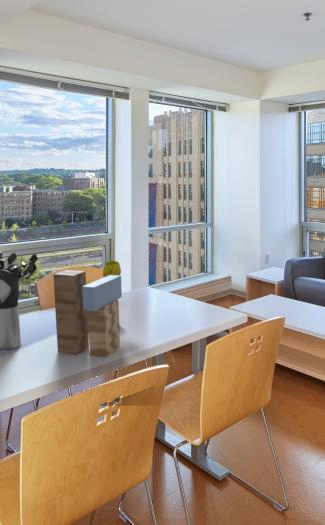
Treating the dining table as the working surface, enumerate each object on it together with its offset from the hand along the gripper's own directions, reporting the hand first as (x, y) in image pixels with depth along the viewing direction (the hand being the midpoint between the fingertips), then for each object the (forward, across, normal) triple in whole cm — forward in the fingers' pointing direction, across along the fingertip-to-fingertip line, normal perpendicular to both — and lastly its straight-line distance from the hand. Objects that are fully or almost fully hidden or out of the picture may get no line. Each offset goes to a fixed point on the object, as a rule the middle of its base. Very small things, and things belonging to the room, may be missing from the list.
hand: (25, 255), depth 161 cm
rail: (+13, +14, -34) cm, 39 cm away
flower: (+32, 0, -68) cm, 76 cm away
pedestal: (0, +1, -50) cm, 50 cm away
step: (+3, +14, -51) cm, 53 cm away
